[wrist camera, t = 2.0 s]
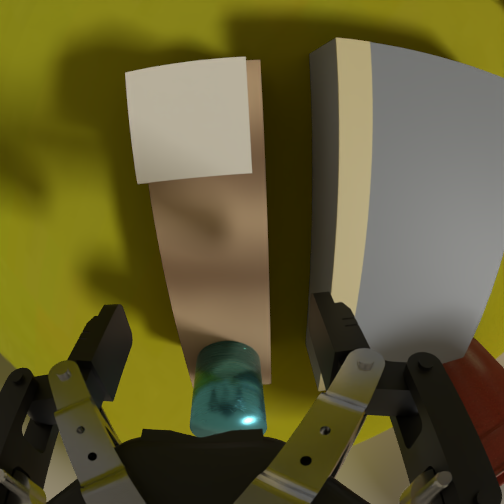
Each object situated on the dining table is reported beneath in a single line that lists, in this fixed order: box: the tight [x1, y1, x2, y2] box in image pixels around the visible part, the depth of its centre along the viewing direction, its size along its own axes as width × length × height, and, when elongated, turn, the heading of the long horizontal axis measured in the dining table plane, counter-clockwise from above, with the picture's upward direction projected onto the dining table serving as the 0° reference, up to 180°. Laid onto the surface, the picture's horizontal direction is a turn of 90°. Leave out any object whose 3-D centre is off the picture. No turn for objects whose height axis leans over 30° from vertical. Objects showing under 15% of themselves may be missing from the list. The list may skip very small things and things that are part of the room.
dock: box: [306, 38, 504, 391], centre depth 18 cm, size 21×13×5 cm, turn 3°
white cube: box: [125, 57, 252, 184], centre depth 11 cm, size 4×4×4 cm
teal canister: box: [190, 341, 267, 437], centre depth 17 cm, size 4×4×5 cm
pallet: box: [148, 60, 271, 388], centre depth 18 cm, size 20×6×4 cm, turn 3°
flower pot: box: [442, 338, 504, 486], centre depth 22 cm, size 16×16×16 cm
